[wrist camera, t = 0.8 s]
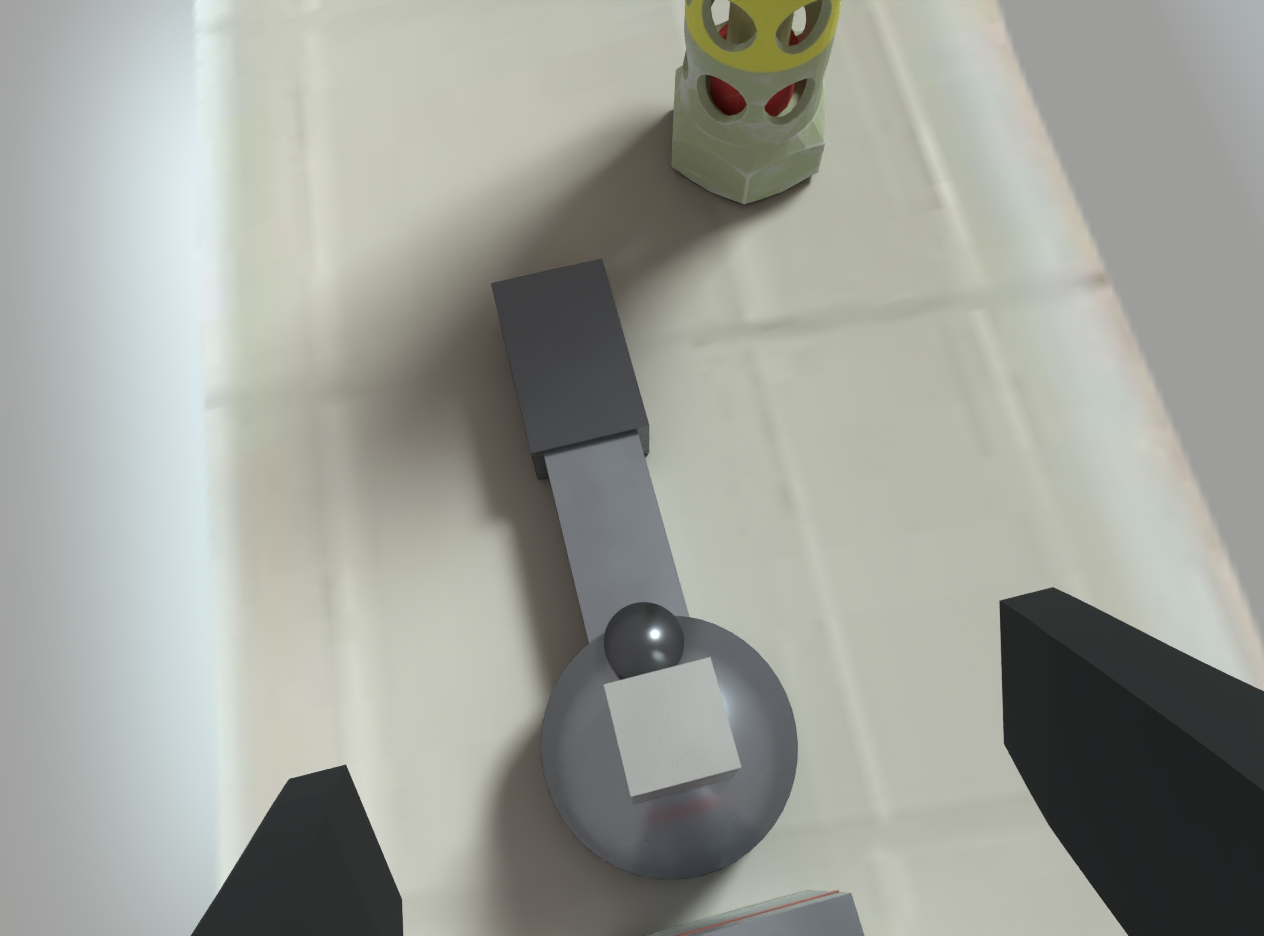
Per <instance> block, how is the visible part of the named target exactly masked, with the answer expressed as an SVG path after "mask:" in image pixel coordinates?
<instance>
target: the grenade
mask: <svg viewBox="0 0 1264 936" xmlns="http://www.w3.org/2000/svg"><path fill="white" fill-rule="evenodd" d="M729 1H730V10H729V20H728V21H726V22H724V23H722V24H719V25H717V26H715V24H714V21H713V19H712V13H711V6H712V4H713V2H714V0H685V21H684V32H685V42H686V53H685V58H684V62H683V66H681V67H680V68H678V69H676V75H675V95H674V116H673V137H672V166H671V167H673V168H674V169H676V170H677V171H679V172H680V173H681V174H683V175H684V176H686V177H687V178H689V179H690V180H692V181H693V182H695V183H697V184H698V185H700V186H702V187H703V188H705V189H706V190H708V191H710V192H712V193H715V194H718V195H720V196H723V197H726V198H728V199H731V200H734V201H737V202H739V203H742V204H747V203H750V202H754V201H757V200H761V199H764V198H766V197H769V196H772V195H775V194H778V193H780V192H783V191H785V190H787V189H788V188H790V187H792V186H794V185H796V184H797V183H799V182H801V181H803V180H804V179H806V178H808V177H810V176H811V175H813V174H815V173H817V172H818V170H819V166H820V161H821V157H822V153H823V149H824V145H825V88H824V78H825V70H826V67H827V63H828V60H829V56H830V53H831V49H832V44H833V40H834V36H835V31H836V27H837V23H838V18H839V14H840V9H841V0H729ZM803 6H804V7H805V10H806V25H805V29H804V30H803V31H801V30H796V29H793V28H791V27H792V21H793V15H794V12H795V11H796V10H798V9H799V8H801V7H803Z"/></svg>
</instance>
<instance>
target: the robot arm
mask: <svg viewBox="0 0 1264 936" xmlns="http://www.w3.org/2000/svg"><path fill="white" fill-rule="evenodd" d="M1000 631H1001V664H1002V696H1003V729H1004V745H1005V747H1006V748H1007V750H1008V752H1009V754H1010V756H1011V758H1012V760H1013V762H1014V763H1015V765H1016V767H1017V769H1018V771H1019V773H1020V775H1021V776H1022V778H1023V780H1024V782H1025V784H1026V786H1027V788H1028V789H1029V791H1030V793H1031V795H1032V796H1033V798H1034V800H1035V802H1036V804H1037V805H1038V807H1039V809H1040V811H1041V812H1042V814H1043V816H1044V818H1045V819H1046V821H1047V823H1048V825H1049V826H1050V828H1051V829H1052V830H1053V832H1054V833H1055V835H1056V836H1057V837H1058V839H1059V840H1060V842H1061V843H1062V845H1063V846H1064V847H1065V849H1066V850H1067V852H1068V853H1069V854H1070V856H1071V857H1072V859H1073V860H1074V861H1075V863H1076V864H1077V865H1078V867H1079V868H1080V870H1081V871H1082V872H1083V874H1084V875H1085V877H1086V878H1087V879H1088V881H1089V882H1090V884H1091V885H1092V886H1093V888H1094V889H1095V890H1096V892H1097V893H1098V895H1099V896H1100V897H1101V899H1102V900H1103V901H1104V903H1105V904H1106V906H1107V907H1108V908H1109V910H1110V911H1111V912H1112V914H1113V915H1114V916H1115V918H1116V919H1117V921H1118V922H1119V923H1120V925H1121V926H1122V927H1123V929H1124V930H1125V932H1126V933H1127V934H1128V936H1264V691H1262V690H1260V689H1258V688H1255V687H1253V686H1251V685H1249V684H1247V683H1245V682H1243V681H1241V680H1239V679H1236V678H1234V677H1232V676H1230V675H1228V674H1226V673H1224V672H1222V671H1220V670H1218V669H1216V668H1214V667H1212V666H1210V665H1208V664H1205V663H1203V662H1201V661H1199V660H1197V659H1195V658H1193V657H1191V656H1189V655H1187V654H1185V653H1183V652H1181V651H1179V650H1177V649H1175V648H1173V647H1171V646H1169V645H1167V644H1165V643H1163V642H1162V641H1160V640H1158V639H1156V638H1154V637H1152V636H1150V635H1148V634H1146V633H1144V632H1142V631H1140V630H1138V629H1136V628H1134V627H1132V626H1130V625H1128V624H1126V623H1124V622H1122V621H1120V620H1118V619H1116V618H1115V617H1113V616H1111V615H1109V614H1107V613H1105V612H1103V611H1101V610H1099V609H1097V608H1095V607H1093V606H1091V605H1089V604H1087V603H1085V602H1083V601H1081V600H1079V599H1077V598H1075V597H1073V596H1071V595H1069V594H1066V593H1064V592H1062V591H1060V590H1058V589H1056V588H1053V587H1052V588H1048V589H1044V590H1040V591H1036V592H1032V593H1028V594H1024V595H1020V596H1016V597H1012V598H1008V599H1004V600H1000ZM191 936H403V916H402V898H401V896H400V894H399V891H398V889H397V886H396V884H395V882H394V879H393V877H392V874H391V872H390V870H389V867H388V865H387V862H386V860H385V858H384V855H383V853H382V850H381V848H380V845H379V843H378V841H377V838H376V836H375V833H374V831H373V829H372V826H371V824H370V821H369V819H368V817H367V814H366V812H365V809H364V807H363V805H362V802H361V800H360V797H359V795H358V793H357V790H356V788H355V785H354V783H353V780H352V778H351V776H350V773H349V771H348V768H347V766H346V765H343V766H339V767H335V768H331V769H327V770H323V771H319V772H315V773H311V774H307V775H303V776H299V777H295V778H291V779H289V780H288V781H287V783H286V784H285V786H284V787H283V789H282V790H281V792H280V794H279V795H278V797H277V798H276V800H275V801H274V803H273V804H272V806H271V808H270V809H269V811H268V812H267V814H266V816H265V817H264V819H263V821H262V822H261V824H260V826H259V827H258V829H257V830H256V832H255V834H254V835H253V837H252V839H251V840H250V842H249V844H248V845H247V847H246V849H245V850H244V852H243V853H242V855H241V857H240V858H239V860H238V862H237V863H236V865H235V866H234V868H233V870H232V871H231V873H230V875H229V876H228V878H227V879H226V881H225V883H224V884H223V886H222V888H221V889H220V891H219V892H218V894H217V896H216V897H215V899H214V900H213V902H212V903H211V905H210V906H209V908H208V910H207V911H206V913H205V914H204V916H203V918H202V919H201V920H200V922H199V924H198V925H197V927H196V928H195V930H194V932H193V933H192V935H191Z"/></svg>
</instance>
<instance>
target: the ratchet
mask: <svg viewBox="0 0 1264 936" xmlns="http://www.w3.org/2000/svg"><path fill="white" fill-rule="evenodd" d="M491 285H492V290H493V294H494V298H495V302H496V307H497V311H498V315H499V319H500V324H501V328H502V332H503V337H504V341H505V345H506V349H507V354H508V358H509V362H510V366H511V371H512V375H513V379H514V384H515V388H516V392H517V396H518V401H519V405H520V409H521V413H522V418H523V422H524V426H525V430H526V435H527V439H528V443H529V448H530V452H531V456H532V459H533V463H534V467H535V470H536V474H537V478H538V480H539V479H543V478H548V477H549V479H550V483H551V487H552V491H553V495H554V499H555V504H556V508H557V512H558V516H559V520H560V525H561V529H562V533H563V537H564V541H565V545H566V550H567V554H568V558H569V562H570V566H571V571H572V575H573V579H574V583H575V587H576V591H577V596H578V600H579V604H580V608H581V612H582V616H583V621H584V625H585V629H586V633H587V637H588V642H589V644H588V645H587V646H585V647H584V648H583V649H582V650H581V651H580V652H579V653H578V654H577V655H576V656H575V657H574V658H573V659H572V661H571V662H570V663H569V664H568V666H567V667H566V669H565V670H564V671H563V673H562V674H561V676H560V678H559V679H558V681H557V683H556V685H555V687H554V689H553V691H552V693H551V696H550V699H549V701H548V704H547V707H546V711H545V715H544V720H543V725H542V734H541V759H542V766H543V772H544V777H545V780H546V784H547V787H548V791H549V793H550V796H551V798H552V800H553V803H554V805H555V807H556V809H557V811H558V812H559V814H560V816H561V817H562V819H563V821H564V822H565V824H566V825H567V826H568V828H569V829H570V830H571V831H572V833H573V834H574V835H575V836H576V837H577V838H578V839H579V840H580V841H581V842H582V843H583V844H584V845H585V846H586V847H587V848H588V849H589V850H591V851H592V852H593V853H595V854H596V855H597V856H599V857H600V858H601V859H603V860H605V861H606V862H608V863H610V864H612V865H614V866H616V867H617V868H620V869H622V870H625V871H628V872H630V873H633V874H636V875H640V876H645V877H649V878H657V879H685V878H691V877H696V876H701V875H705V874H708V873H711V872H714V871H717V870H719V869H722V868H724V867H725V866H727V865H729V864H731V863H733V862H735V861H737V860H738V859H740V858H741V857H742V856H744V855H745V854H747V853H748V852H749V851H751V850H752V849H753V848H754V847H755V846H756V845H757V844H758V843H759V842H760V841H761V840H762V839H763V838H764V837H765V836H766V835H767V833H768V832H769V831H770V830H771V828H772V827H773V826H774V824H775V823H776V821H777V819H778V818H779V816H780V814H781V813H782V811H783V809H784V807H785V805H786V802H787V800H788V798H789V795H790V792H791V789H792V785H793V782H794V778H795V773H796V766H797V754H798V741H797V732H796V724H795V720H794V716H793V712H792V708H791V705H790V703H789V700H788V697H787V695H786V692H785V690H784V689H783V687H782V685H781V683H780V681H779V679H778V677H777V676H776V675H775V673H774V672H773V670H772V669H771V667H770V666H769V665H768V663H767V662H766V661H765V660H764V659H763V658H762V657H761V656H760V655H759V653H758V652H757V651H755V650H754V649H753V648H752V647H751V646H750V645H749V644H747V643H746V642H745V641H744V640H742V639H741V638H739V637H738V636H736V635H735V634H733V633H732V632H730V631H728V630H726V629H724V628H722V627H720V626H718V625H715V624H712V623H709V622H706V621H703V620H700V619H695V618H691V617H689V614H688V610H687V607H686V603H685V600H684V596H683V593H682V589H681V585H680V582H679V578H678V575H677V571H676V567H675V564H674V560H673V557H672V553H671V549H670V546H669V542H668V539H667V535H666V532H665V528H664V524H663V521H662V517H661V514H660V510H659V506H658V503H657V499H656V496H655V492H654V489H653V485H652V481H651V478H650V474H649V471H648V467H647V463H646V460H645V456H644V454H648V453H649V423H648V419H647V416H646V412H645V409H644V405H643V402H642V398H641V395H640V391H639V388H638V384H637V380H636V377H635V373H634V370H633V366H632V363H631V359H630V356H629V352H628V349H627V345H626V342H625V338H624V335H623V331H622V328H621V324H620V321H619V317H618V314H617V310H616V307H615V303H614V300H613V296H612V292H611V289H610V285H609V282H608V278H607V275H606V271H605V268H604V264H603V261H602V259H598V260H594V261H589V262H585V263H580V264H576V265H571V266H567V267H562V268H558V269H553V270H549V271H544V272H540V273H535V274H531V275H526V276H522V277H518V278H513V279H509V280H504V281H500V282H495V283H491Z"/></svg>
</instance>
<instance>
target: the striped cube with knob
mask: <svg viewBox="0 0 1264 936" xmlns="http://www.w3.org/2000/svg"><path fill="white" fill-rule="evenodd" d="M645 936H864V933H863V930H862V927H861V923H860V920H859V917H858V914H857V910H856V907H855V904H854V901H853V897H852V894H851V893H844V892H839V891H835V890H834V891H831V892H829V891H815V890H807V891H803V892H800V893H796V894H793V895H789V896H785V897H782V898H778V899H774V900H771V901H767V902H764V903H760V904H756V905H753V906H749V907H746V908H742V909H738V910H735V911H731V912H728V913H724V914H720V915H717V916H713V917H710V918H706V919H702V920H699V921H695V922H691V923H688V924H684V925H681V926H677V927H673V928H670V929H666V930H663V931H659V932H655V933H652V934H648V935H645Z"/></svg>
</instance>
